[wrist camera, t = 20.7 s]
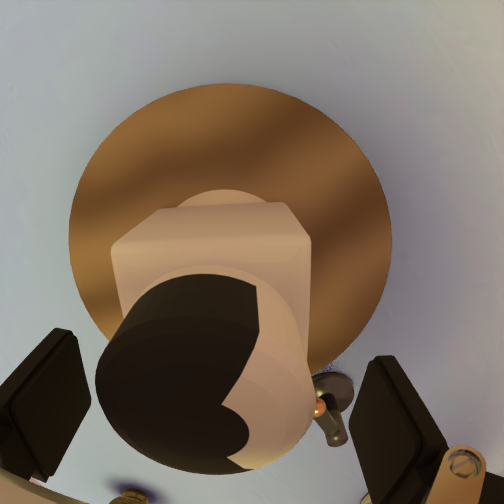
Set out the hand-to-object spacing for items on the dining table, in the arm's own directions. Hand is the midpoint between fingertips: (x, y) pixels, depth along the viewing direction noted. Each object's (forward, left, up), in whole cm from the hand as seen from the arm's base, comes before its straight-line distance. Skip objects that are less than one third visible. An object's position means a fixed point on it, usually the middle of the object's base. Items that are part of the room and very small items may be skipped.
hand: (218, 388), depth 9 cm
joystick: (-8, +11, -13) cm, 19 cm away
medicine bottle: (0, 0, -10) cm, 10 cm away
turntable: (0, 0, -12) cm, 12 cm away
